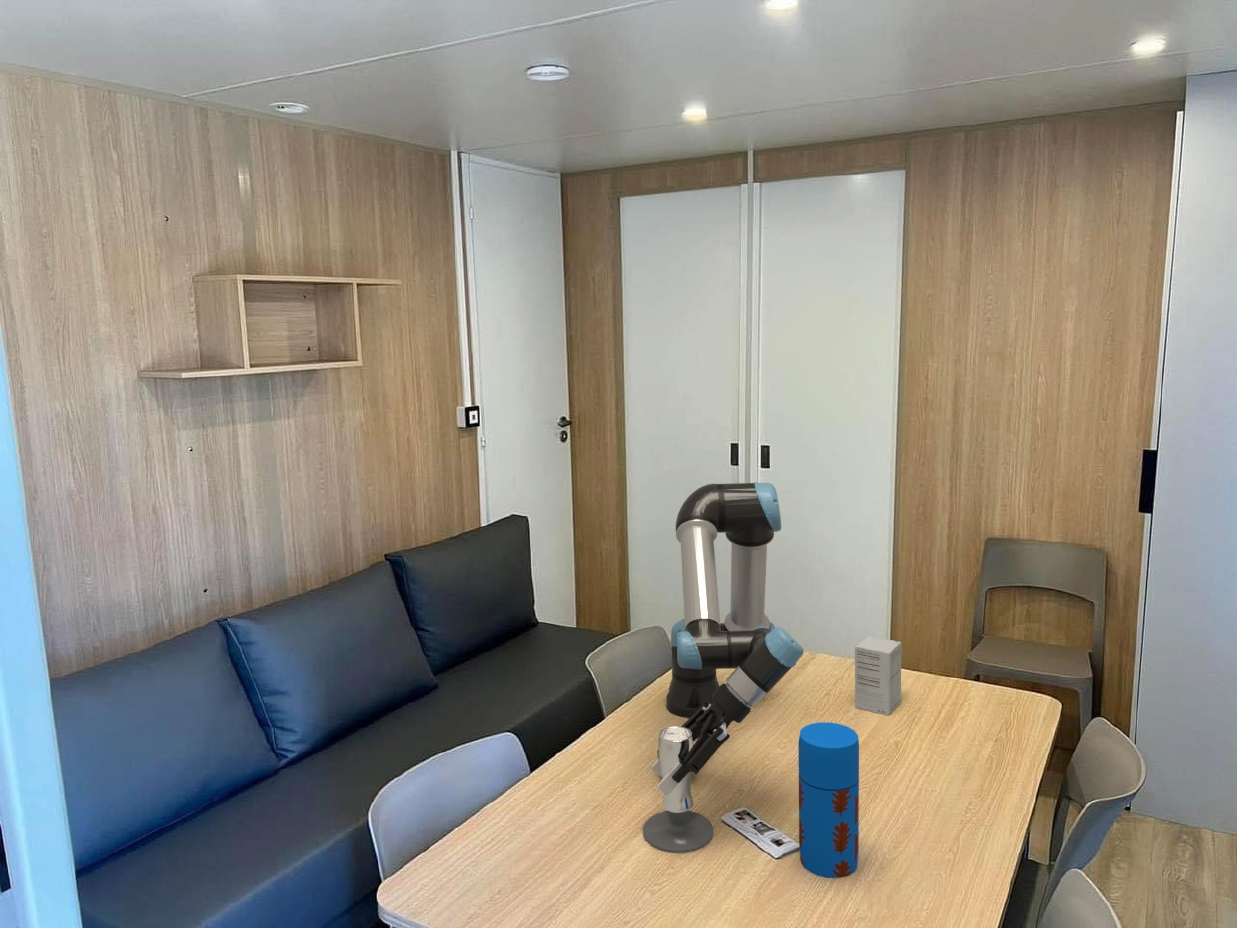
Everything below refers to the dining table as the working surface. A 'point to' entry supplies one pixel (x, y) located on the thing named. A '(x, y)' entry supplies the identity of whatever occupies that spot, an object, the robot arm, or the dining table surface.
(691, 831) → the coaster
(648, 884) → the dining table surface
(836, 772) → the thermos
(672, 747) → the metal tumbler
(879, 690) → the supplement box
